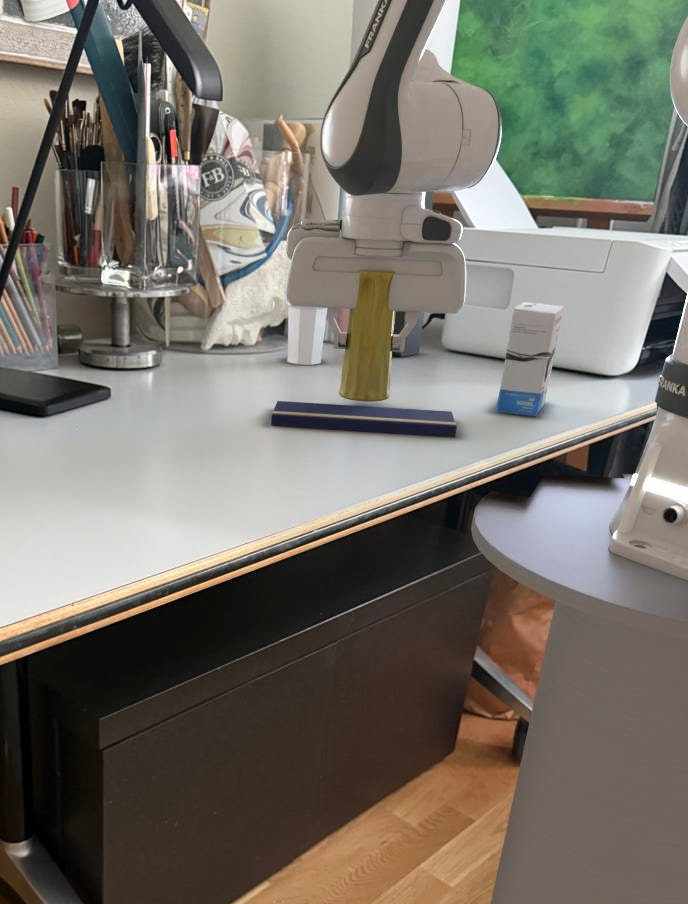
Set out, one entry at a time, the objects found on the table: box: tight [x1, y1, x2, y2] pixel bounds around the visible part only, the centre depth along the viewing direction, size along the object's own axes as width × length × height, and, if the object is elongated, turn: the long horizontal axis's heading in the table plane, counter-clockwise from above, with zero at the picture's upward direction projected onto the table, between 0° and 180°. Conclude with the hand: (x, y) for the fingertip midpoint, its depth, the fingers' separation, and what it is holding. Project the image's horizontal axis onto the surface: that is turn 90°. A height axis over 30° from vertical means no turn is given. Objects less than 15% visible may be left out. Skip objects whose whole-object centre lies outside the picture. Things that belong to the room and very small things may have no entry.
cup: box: [285, 279, 327, 366], centre depth 135 cm, size 7×7×11 cm
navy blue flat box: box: [270, 400, 458, 438], centre depth 105 cm, size 20×7×1 cm, turn 81°
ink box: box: [495, 301, 565, 417], centre depth 111 cm, size 8×5×12 cm, turn 155°
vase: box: [338, 270, 396, 403], centre depth 109 cm, size 6×6×14 cm
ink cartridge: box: [392, 311, 425, 358], centre depth 143 cm, size 5×2×8 cm, turn 133°
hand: (368, 349), depth 110 cm, fingers closed on vase, 5 cm apart
